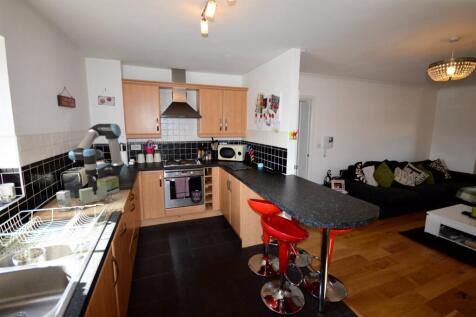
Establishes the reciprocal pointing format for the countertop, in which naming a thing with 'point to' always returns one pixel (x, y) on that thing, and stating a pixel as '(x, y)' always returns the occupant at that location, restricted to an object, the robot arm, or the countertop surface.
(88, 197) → the pale green block
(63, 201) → the syrup box
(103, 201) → the cradle
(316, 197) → the countertop surface
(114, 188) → the tea box
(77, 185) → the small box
